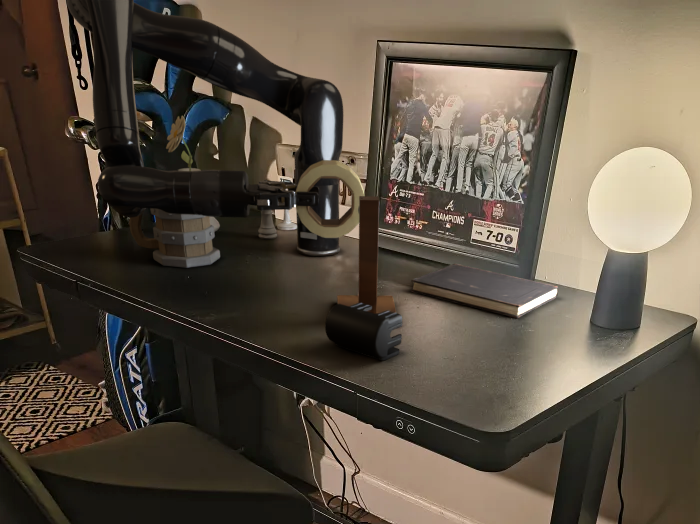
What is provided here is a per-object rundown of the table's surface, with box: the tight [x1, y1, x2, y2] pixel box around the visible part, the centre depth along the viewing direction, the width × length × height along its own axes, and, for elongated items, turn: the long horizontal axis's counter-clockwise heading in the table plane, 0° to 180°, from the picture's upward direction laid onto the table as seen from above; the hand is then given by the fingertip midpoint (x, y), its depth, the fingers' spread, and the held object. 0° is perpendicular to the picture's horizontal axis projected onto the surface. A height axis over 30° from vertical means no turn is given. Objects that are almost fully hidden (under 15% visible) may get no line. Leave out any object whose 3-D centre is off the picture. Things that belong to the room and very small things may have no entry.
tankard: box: [128, 208, 221, 269], centre depth 153 cm, size 20×13×15 cm, turn 80°
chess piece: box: [276, 189, 297, 231], centre depth 180 cm, size 5×5×10 cm
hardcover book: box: [410, 263, 559, 319], centre depth 142 cm, size 16×23×2 cm
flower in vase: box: [165, 115, 221, 233], centre depth 168 cm, size 13×11×25 cm
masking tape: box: [295, 160, 366, 238], centre depth 131 cm, size 5×12×12 cm, turn 93°
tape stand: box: [336, 195, 397, 314], centre depth 126 cm, size 14×10×20 cm
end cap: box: [324, 303, 403, 361], centre depth 114 cm, size 10×7×7 cm
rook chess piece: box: [257, 210, 278, 241], centre depth 172 cm, size 4×4×8 cm
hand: (318, 196), depth 131 cm, fingers closed on masking tape, 4 cm apart
